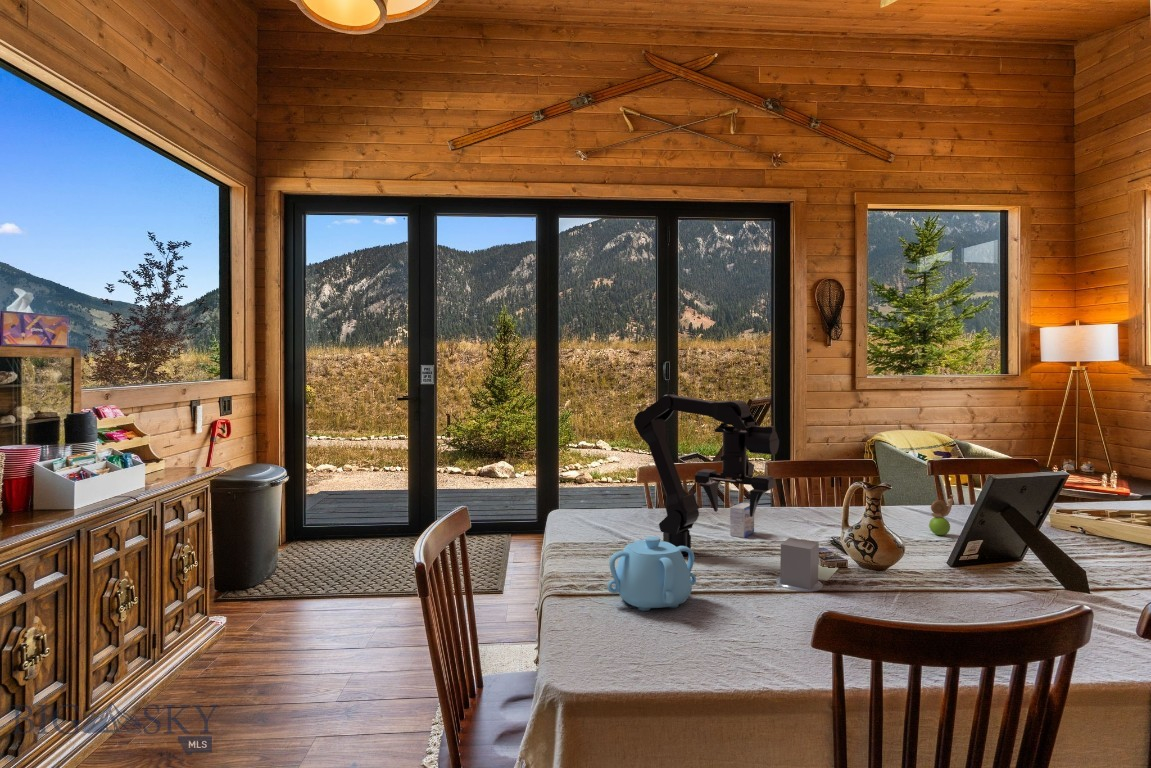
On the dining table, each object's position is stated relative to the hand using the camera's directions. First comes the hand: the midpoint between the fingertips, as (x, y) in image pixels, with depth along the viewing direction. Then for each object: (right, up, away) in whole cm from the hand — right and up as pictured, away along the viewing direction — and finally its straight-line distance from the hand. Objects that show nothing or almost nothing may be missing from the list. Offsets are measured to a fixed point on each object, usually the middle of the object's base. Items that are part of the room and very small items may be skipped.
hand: (733, 513), depth 158 cm
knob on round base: (+12, -14, -13) cm, 22 cm away
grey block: (+12, -13, -13) cm, 22 cm away
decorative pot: (-23, -14, -23) cm, 36 cm away
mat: (+18, -13, -3) cm, 22 cm away
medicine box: (+10, -12, +30) cm, 34 cm away
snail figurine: (+69, -13, +30) cm, 76 cm away
